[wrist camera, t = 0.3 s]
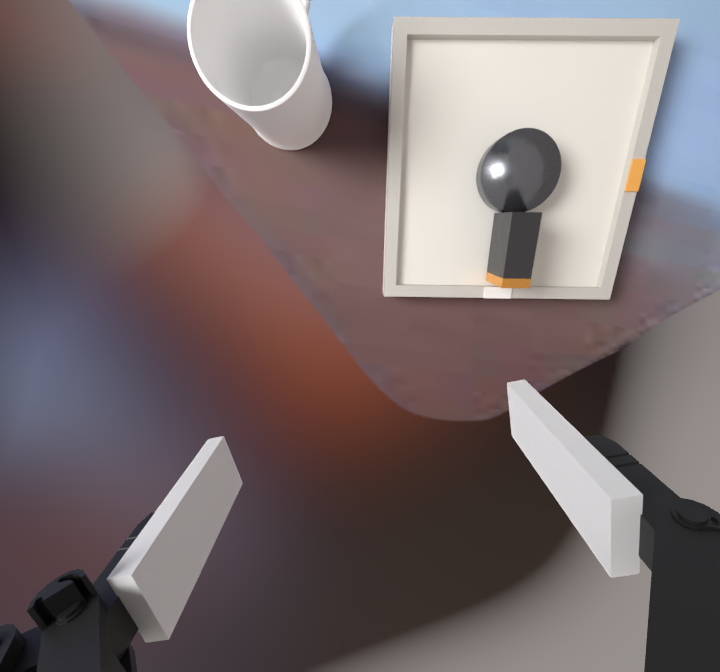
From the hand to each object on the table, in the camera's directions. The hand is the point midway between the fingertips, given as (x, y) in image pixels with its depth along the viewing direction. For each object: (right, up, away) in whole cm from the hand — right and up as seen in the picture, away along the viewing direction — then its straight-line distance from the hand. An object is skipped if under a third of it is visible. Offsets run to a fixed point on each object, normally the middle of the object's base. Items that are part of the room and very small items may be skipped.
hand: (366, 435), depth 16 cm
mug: (-6, +29, +17) cm, 34 cm away
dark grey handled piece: (+14, +17, +18) cm, 29 cm away
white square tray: (+14, +21, +20) cm, 32 cm away
